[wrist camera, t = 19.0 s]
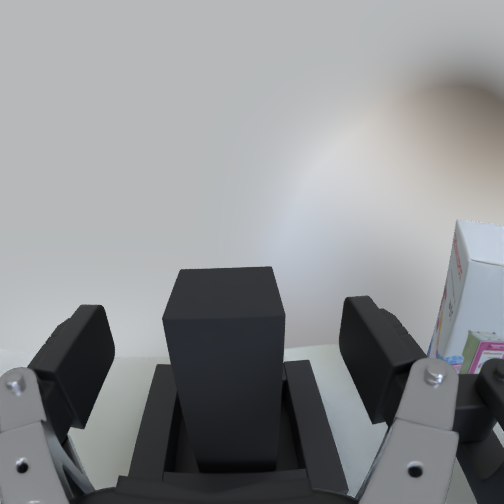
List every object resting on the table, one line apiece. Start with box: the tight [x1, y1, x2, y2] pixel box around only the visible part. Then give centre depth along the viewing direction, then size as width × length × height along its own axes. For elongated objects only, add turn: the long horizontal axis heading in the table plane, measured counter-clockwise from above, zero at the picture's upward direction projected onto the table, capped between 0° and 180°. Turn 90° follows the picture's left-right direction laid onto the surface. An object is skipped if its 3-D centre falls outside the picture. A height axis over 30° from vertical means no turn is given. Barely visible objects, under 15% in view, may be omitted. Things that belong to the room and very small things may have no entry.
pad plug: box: [162, 267, 285, 473], centre depth 13 cm, size 4×4×10 cm
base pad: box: [128, 360, 349, 495], centre depth 15 cm, size 10×10×3 cm
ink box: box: [427, 219, 504, 374], centre depth 16 cm, size 8×5×12 cm, turn 149°
